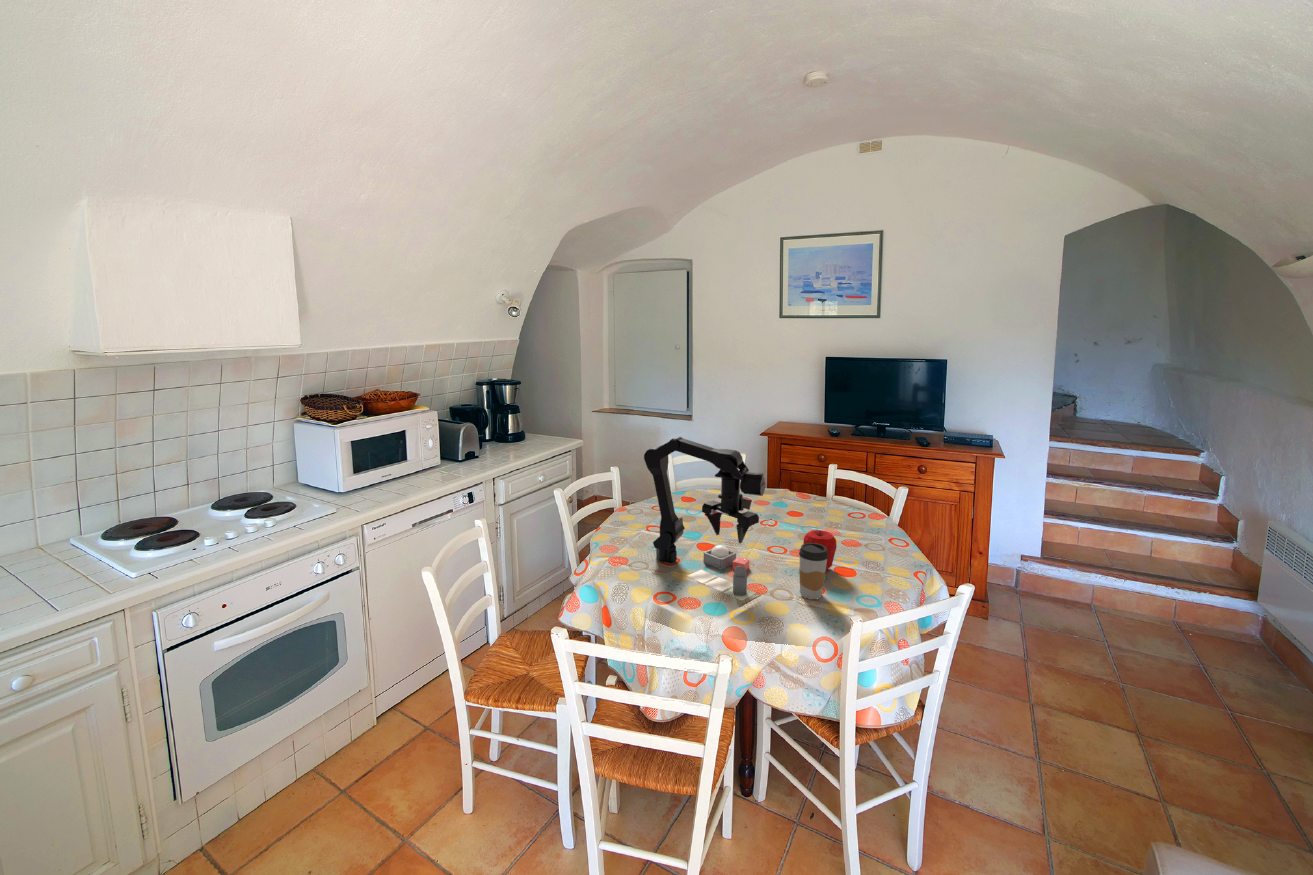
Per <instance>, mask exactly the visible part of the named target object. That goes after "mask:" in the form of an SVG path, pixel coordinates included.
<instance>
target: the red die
mask: <svg viewBox="0 0 1313 875" xmlns="http://www.w3.org/2000/svg"><path fill="white" fill-rule="evenodd" d="M737 566H743V567H744V568H745V569H746V571H747V570H749V568H750V559H748V558H744V557H739V556H736V559H735V560H734V561H733V564H732V571H734V569H735V568H736V567H737Z"/></svg>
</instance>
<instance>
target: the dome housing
mask: <svg viewBox="0 0 1313 875" xmlns="http://www.w3.org/2000/svg"><path fill="white" fill-rule="evenodd" d="M712 549H713V548H711V549H708V550H705V551H703V562H704V563H705V564H707V565H709V566H712V567H714V568H717V569H719V570H723V569H725V568H728V567H729V566H733V561H734V560H735V559H736V558H737V552H735V551H733V550H730V549H728V551H729V555H728V556H726V557H724V558H718V557H716V556H713V555H711V551H712Z"/></svg>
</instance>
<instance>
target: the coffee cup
mask: <svg viewBox="0 0 1313 875" xmlns="http://www.w3.org/2000/svg"><path fill="white" fill-rule="evenodd" d="M798 555H799V567H798V569H799V571H798V573H799V579H798V580H799V593H800V595H801V597H802V596H803V598H804V597H805V598H804V599H806V598H808V599H807V600H810V599H816V600H818V599H817V598H819V599H820V598H821V597H822V596H823V590H824V586H825V578H826V573H827V570H826V564H827V558H828V551H827V548H826V547H825V546H823V545H821V544H817V543H805V544H801V547H800V548H799V551H798Z"/></svg>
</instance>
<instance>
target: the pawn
mask: <svg viewBox="0 0 1313 875" xmlns="http://www.w3.org/2000/svg"><path fill="white" fill-rule="evenodd" d="M732 583H733V586H732V588H733V593H734V594H735V595H739V596H742V595H746V594H747V589H748V586H747V585H748V574H747V570H746V569H745V568H744V567H743V566H737V567H736V568H735V569H734V570H733V574H732Z"/></svg>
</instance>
